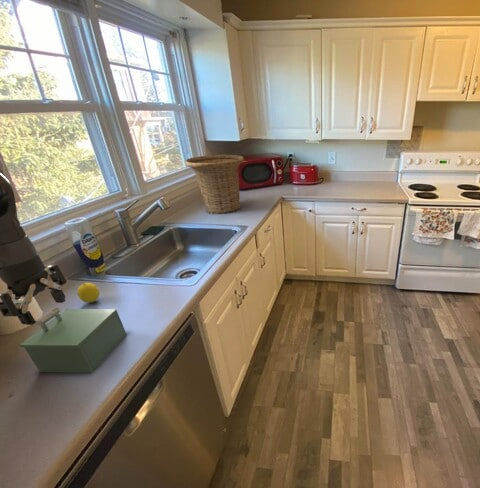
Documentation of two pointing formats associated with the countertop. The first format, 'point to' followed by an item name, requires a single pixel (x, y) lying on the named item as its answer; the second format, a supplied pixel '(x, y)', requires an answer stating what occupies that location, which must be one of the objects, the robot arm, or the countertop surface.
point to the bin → (80, 350)
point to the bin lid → (67, 327)
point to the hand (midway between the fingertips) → (46, 312)
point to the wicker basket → (218, 181)
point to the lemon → (88, 292)
